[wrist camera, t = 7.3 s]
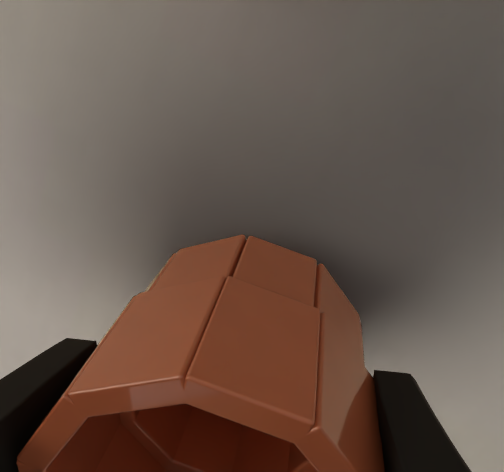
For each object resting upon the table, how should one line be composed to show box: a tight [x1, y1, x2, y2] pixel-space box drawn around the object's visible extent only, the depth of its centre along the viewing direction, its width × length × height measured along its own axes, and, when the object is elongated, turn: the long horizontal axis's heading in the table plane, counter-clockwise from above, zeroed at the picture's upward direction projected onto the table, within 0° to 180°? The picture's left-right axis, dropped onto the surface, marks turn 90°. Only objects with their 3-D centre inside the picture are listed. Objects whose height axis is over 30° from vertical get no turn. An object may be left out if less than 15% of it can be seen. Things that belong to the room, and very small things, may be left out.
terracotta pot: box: [16, 235, 385, 472], centre depth 9 cm, size 5×5×4 cm
